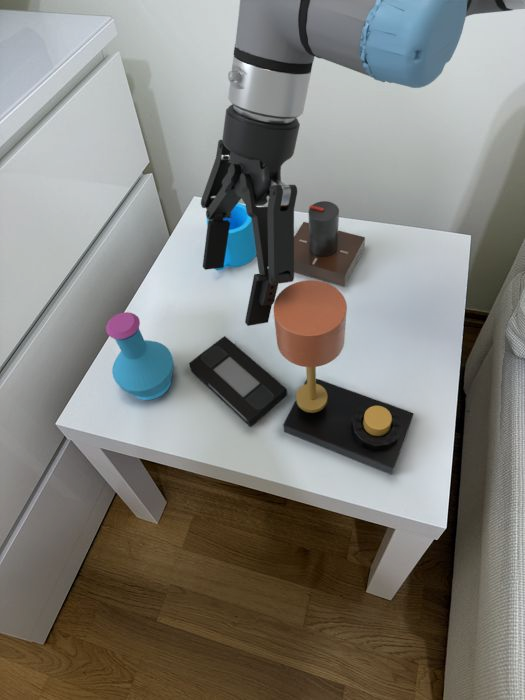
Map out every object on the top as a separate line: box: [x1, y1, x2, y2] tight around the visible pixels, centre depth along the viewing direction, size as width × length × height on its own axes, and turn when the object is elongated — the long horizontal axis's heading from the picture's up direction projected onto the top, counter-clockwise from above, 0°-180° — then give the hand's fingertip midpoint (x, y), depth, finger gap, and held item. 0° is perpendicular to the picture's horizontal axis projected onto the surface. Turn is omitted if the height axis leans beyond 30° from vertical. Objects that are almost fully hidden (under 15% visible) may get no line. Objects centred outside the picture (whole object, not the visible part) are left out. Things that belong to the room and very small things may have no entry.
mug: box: [206, 202, 257, 272], centre depth 93 cm, size 12×8×8 cm
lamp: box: [272, 279, 348, 413], centre depth 65 cm, size 8×8×20 cm
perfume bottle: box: [105, 311, 174, 401], centre depth 76 cm, size 9×9×15 cm
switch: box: [363, 406, 392, 436], centre depth 69 cm, size 4×4×2 cm
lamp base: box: [282, 378, 415, 476], centre depth 73 cm, size 16×9×4 cm, turn 64°
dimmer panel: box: [294, 221, 366, 288], centre depth 93 cm, size 12×10×3 cm
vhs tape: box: [188, 335, 288, 428], centre depth 79 cm, size 8×14×2 cm, turn 43°
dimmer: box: [308, 200, 340, 257], centre depth 88 cm, size 5×5×8 cm
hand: (233, 293), depth 65 cm, fingers open, 12 cm apart
